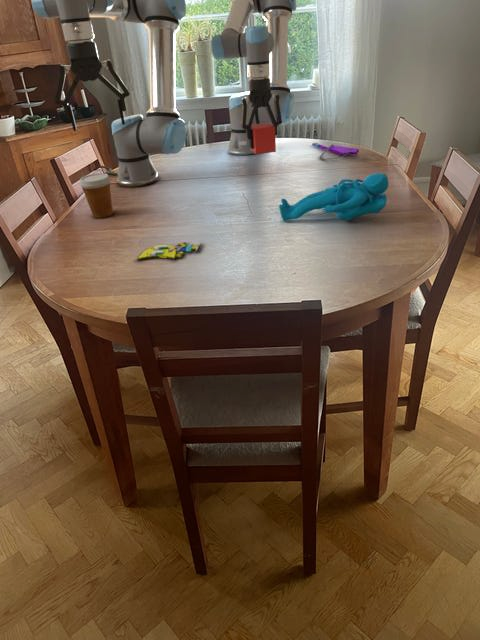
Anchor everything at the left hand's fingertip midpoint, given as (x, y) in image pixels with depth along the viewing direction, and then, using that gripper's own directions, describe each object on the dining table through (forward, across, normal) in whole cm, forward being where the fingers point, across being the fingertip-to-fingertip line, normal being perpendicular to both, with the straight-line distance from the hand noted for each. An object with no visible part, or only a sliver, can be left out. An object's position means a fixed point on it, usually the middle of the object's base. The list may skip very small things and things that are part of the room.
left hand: (99, 127), depth 138 cm
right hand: (+18, +55, +26) cm, 64 cm away
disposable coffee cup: (+27, -5, +5) cm, 28 cm away
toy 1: (+27, +12, -34) cm, 45 cm away
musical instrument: (+27, +86, +36) cm, 97 cm away
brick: (+20, +55, +26) cm, 64 cm away
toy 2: (+27, +59, -30) cm, 72 cm away
